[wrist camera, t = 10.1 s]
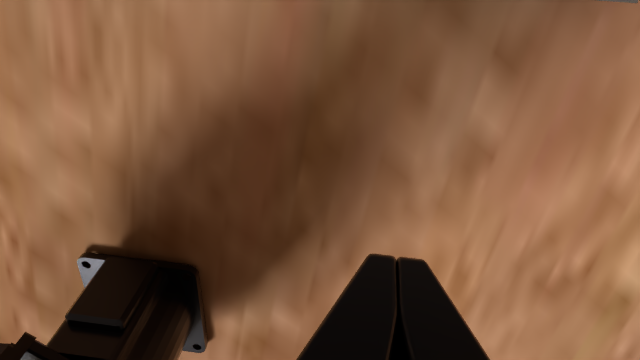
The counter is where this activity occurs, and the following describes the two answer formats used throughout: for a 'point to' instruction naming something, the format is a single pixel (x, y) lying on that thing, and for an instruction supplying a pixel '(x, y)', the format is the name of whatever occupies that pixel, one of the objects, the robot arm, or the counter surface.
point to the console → (630, 0)
